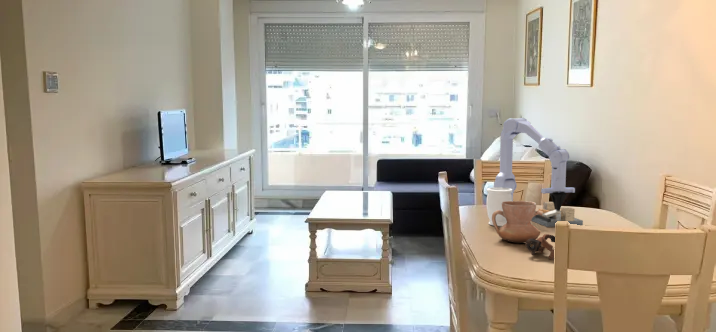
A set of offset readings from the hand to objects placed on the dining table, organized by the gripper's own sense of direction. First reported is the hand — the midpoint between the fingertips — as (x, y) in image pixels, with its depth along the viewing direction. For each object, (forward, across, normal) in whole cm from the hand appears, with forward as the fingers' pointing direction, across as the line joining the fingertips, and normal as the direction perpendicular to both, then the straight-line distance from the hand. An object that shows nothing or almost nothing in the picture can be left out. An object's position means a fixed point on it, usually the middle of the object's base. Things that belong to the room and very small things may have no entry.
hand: (557, 209), depth 246 cm
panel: (+5, -2, 0) cm, 5 cm away
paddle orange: (+3, -3, +3) cm, 5 cm away
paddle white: (+3, -2, 0) cm, 4 cm away
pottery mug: (+6, -34, -50) cm, 61 cm away
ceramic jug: (+5, -33, -28) cm, 43 cm away
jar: (+5, -27, 0) cm, 27 cm away
